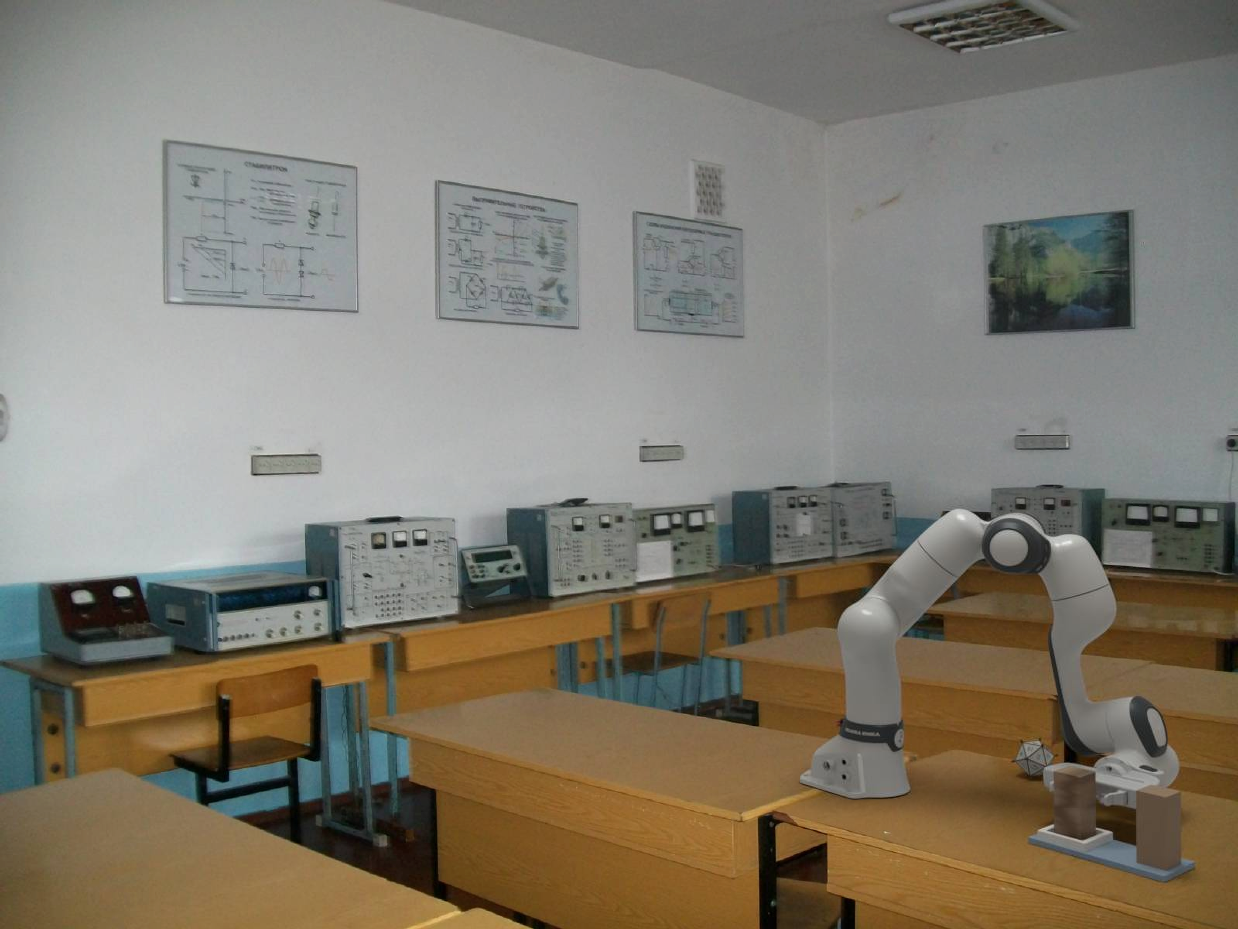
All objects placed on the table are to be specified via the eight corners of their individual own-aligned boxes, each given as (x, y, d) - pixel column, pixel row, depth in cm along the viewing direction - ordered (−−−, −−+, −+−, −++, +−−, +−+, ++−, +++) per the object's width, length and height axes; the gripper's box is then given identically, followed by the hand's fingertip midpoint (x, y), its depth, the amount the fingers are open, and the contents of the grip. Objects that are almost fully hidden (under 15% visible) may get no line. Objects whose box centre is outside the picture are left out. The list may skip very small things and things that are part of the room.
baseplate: (1028, 843, 210) (1027, 769, 210) (1059, 830, 216) (1059, 759, 216) (1164, 882, 191) (1164, 802, 191) (1194, 867, 197) (1194, 789, 197)
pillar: (1053, 839, 209) (1053, 771, 209) (1069, 833, 212) (1069, 766, 212) (1080, 846, 205) (1080, 777, 205) (1095, 840, 208) (1095, 771, 208)
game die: (1026, 795, 250) (996, 756, 251) (1042, 772, 256) (1012, 735, 257) (1058, 783, 243) (1027, 743, 245) (1073, 760, 249) (1043, 722, 250)
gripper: (1066, 751, 225) (1024, 764, 217) (1173, 773, 209) (1132, 789, 201) (1066, 784, 226) (1024, 798, 217) (1173, 809, 210) (1132, 826, 201)
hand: (1077, 794), depth 209 cm, fingers open, 8 cm apart
